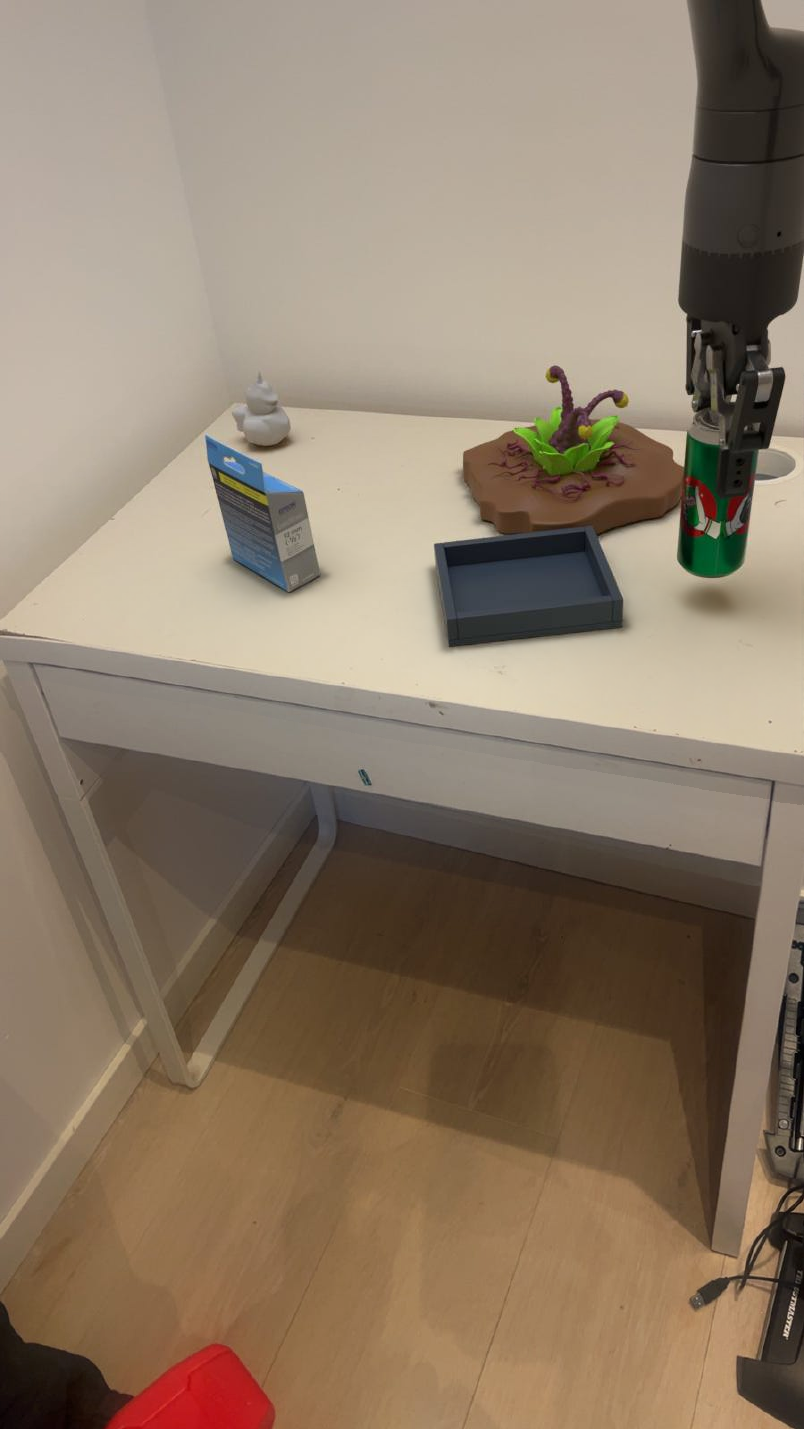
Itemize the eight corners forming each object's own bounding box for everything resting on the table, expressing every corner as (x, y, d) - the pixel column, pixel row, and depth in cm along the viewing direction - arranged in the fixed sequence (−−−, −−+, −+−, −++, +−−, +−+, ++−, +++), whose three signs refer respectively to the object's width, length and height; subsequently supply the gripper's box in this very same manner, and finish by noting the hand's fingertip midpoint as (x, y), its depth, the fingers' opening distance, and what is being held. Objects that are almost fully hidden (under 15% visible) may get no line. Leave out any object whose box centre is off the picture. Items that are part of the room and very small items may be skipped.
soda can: (738, 547, 82) (756, 401, 75) (748, 580, 78) (768, 430, 71) (673, 549, 83) (684, 404, 75) (680, 583, 79) (692, 434, 71)
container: (592, 551, 90) (592, 525, 88) (622, 627, 81) (623, 599, 79) (435, 569, 90) (433, 543, 88) (448, 646, 81) (446, 619, 79)
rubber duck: (280, 455, 111) (267, 382, 105) (226, 450, 113) (211, 379, 108) (302, 433, 114) (290, 362, 109) (249, 429, 116) (236, 359, 111)
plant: (607, 424, 109) (611, 316, 102) (718, 501, 94) (731, 382, 87) (432, 472, 104) (423, 362, 97) (520, 560, 90) (517, 439, 83)
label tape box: (322, 576, 91) (300, 445, 83) (285, 595, 89) (259, 463, 81) (264, 543, 96) (239, 417, 88) (228, 561, 94) (199, 434, 87)
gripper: (848, 254, 60) (805, 518, 70) (765, 197, 71) (739, 432, 82) (718, 270, 60) (695, 530, 70) (656, 210, 71) (643, 443, 82)
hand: (718, 476), depth 76 cm, fingers closed on soda can, 5 cm apart
